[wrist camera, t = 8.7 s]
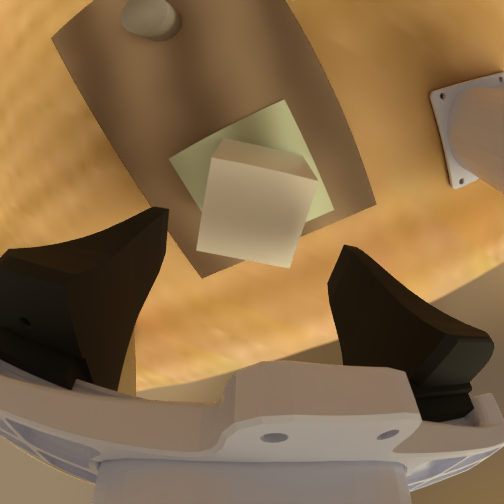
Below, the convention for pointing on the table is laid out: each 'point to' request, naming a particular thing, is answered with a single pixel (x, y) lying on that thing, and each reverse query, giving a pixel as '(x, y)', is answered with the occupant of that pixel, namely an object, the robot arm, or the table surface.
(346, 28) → the table surface
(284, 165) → the beige stacked cube
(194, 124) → the post board
